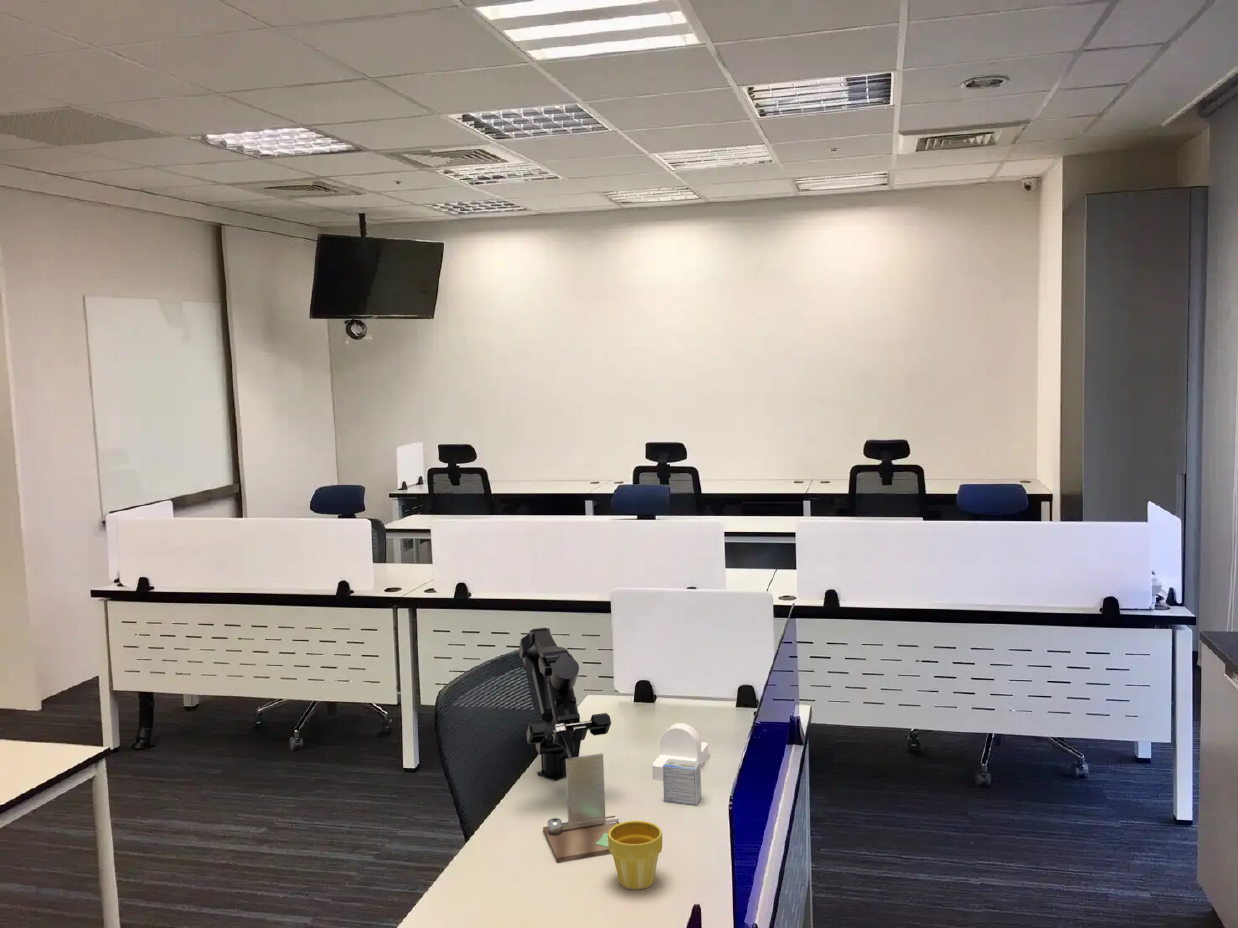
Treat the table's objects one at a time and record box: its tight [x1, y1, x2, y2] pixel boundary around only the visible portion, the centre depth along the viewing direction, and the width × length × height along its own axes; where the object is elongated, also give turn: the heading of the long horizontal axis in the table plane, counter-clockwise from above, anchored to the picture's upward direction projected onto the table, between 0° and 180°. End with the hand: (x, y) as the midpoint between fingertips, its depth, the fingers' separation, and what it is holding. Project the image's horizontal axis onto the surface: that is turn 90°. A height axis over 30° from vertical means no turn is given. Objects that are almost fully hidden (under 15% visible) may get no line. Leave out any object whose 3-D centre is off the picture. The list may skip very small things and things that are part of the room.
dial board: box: [542, 815, 620, 864], centre depth 200 cm, size 16×14×1 cm
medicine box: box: [662, 759, 702, 806], centre depth 218 cm, size 8×4×9 cm, turn 71°
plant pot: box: [608, 820, 663, 890], centre depth 183 cm, size 10×10×10 cm
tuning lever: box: [547, 753, 620, 834], centre depth 203 cm, size 16×3×15 cm, turn 106°
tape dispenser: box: [651, 722, 709, 782], centre depth 236 cm, size 10×18×11 cm, turn 160°
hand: (575, 764), depth 211 cm, fingers closed
